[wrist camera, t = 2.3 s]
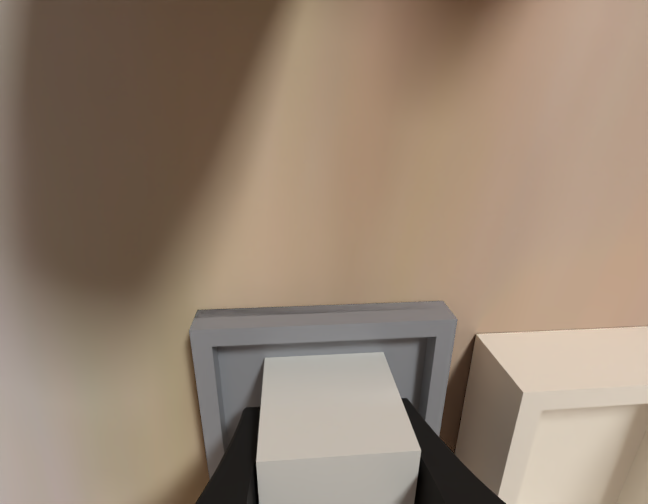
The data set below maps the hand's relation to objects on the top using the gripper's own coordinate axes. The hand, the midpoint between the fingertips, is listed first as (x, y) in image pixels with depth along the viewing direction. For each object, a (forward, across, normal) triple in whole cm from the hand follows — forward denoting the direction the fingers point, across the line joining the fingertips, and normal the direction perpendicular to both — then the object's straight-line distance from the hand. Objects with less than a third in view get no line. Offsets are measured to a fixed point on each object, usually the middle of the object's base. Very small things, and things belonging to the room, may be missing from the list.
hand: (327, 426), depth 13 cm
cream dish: (+2, -10, +4) cm, 11 cm away
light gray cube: (+1, 0, 0) cm, 1 cm away
